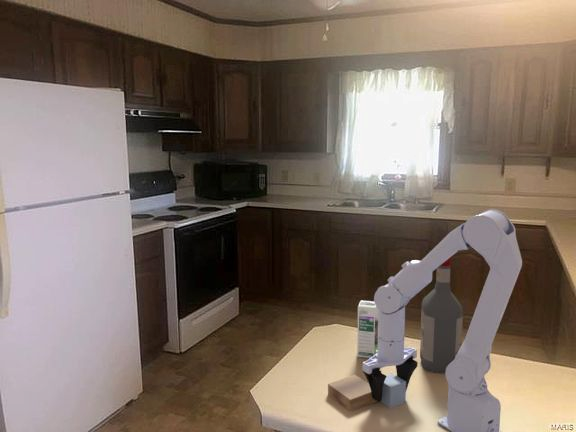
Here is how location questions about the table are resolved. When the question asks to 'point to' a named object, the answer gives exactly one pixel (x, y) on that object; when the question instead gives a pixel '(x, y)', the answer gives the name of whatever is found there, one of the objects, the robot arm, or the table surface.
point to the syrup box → (367, 329)
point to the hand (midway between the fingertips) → (389, 394)
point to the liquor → (440, 323)
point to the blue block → (393, 391)
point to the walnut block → (351, 392)
